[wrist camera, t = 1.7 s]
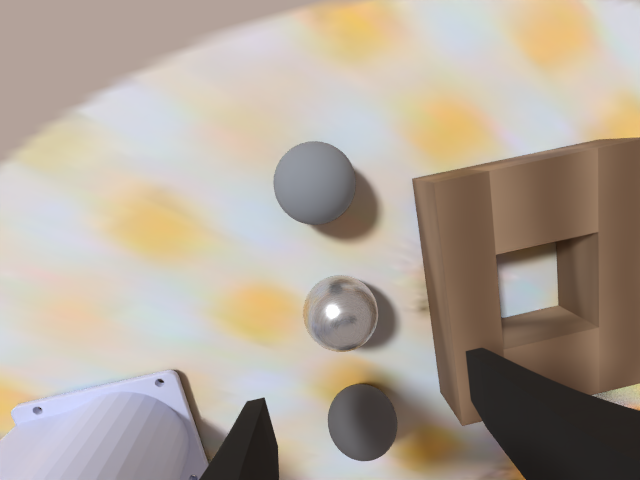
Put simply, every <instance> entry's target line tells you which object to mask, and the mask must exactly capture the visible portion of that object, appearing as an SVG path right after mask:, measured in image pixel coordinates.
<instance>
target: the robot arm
mask: <svg viewBox="0 0 640 480" xmlns="http://www.w3.org/2000/svg"><path fill="white" fill-rule="evenodd" d="M465 352H466V361H467V370H468V379H469V388H470V398H471V402H472V403H473V405H474V407H475V409H476V410H477V412H478V414H479V416H480V417H481V419H482V421H483V422H484V424H485V426H486V427H487V429H488V430H489V431H490V433H491V434H492V435H493V437H494V438H495V439H496V441H497V442H498V443H499V445H500V446H501V447H502V449H503V450H504V451H505V453H506V454H507V455H508V457H509V458H510V459H511V461H512V462H513V463H514V464H515V466H516V467H517V468H518V470H519V471H520V472H521V474H522V475H523V476H524V478H525V479H526V480H640V411H639V410H635V409H631V408H628V407H624V406H621V405H618V404H615V403H612V402H609V401H606V400H603V399H600V398H597V397H594V396H591V395H588V394H585V393H583V392H580V391H577V390H575V389H572V388H570V387H568V386H565V385H563V384H560V383H558V382H555V381H553V380H551V379H549V378H546V377H544V376H542V375H540V374H537V373H535V372H533V371H531V370H529V369H527V368H524V367H522V366H520V365H518V364H516V363H514V362H512V361H510V360H508V359H506V358H504V357H502V356H500V355H498V354H496V353H494V352H491V351H489V350H487V349H485V348H477V349H473V350H469V351H465ZM157 379H162V380H163V381H164V383H160V382H159V381H158V380H157ZM38 407H40V408H41V409H42V410H41V409H39V408H38ZM11 416H12V418H13V420H14V422H15V424H16V425H15V426H14V427H13V428H12V429H11V430H10V431H9V432H8V433H7V434H6V435H5V436H4V437H3V438H2V439H1V440H0V480H279V464H278V445H277V441H276V438H275V434H274V430H273V427H272V423H271V419H270V416H269V412H268V409H267V405H266V401H265V398H260V399H256V400H252V401H247V403H246V404H245V406H244V407H243V409H242V411H241V413H240V414H239V416H238V418H237V420H236V422H235V423H234V425H233V427H232V429H231V430H230V432H229V434H228V435H227V437H226V439H225V440H224V442H223V444H222V445H221V447H220V449H219V450H218V452H217V454H216V455H215V457H214V458H213V460H212V461H211V463H210V464H208V461H207V458H206V455H205V452H204V449H203V447H202V444H201V441H200V438H199V435H198V432H197V429H196V426H195V423H194V420H193V417H192V414H191V411H190V408H189V405H188V402H187V399H186V396H185V393H184V390H183V387H182V384H181V381H180V378H179V375H178V374H177V372H175V371H173V370H166V371H161V372H157V373H152V374H148V375H144V376H139V377H135V378H130V379H126V380H121V381H117V382H113V383H108V384H104V385H99V386H95V387H90V388H86V389H82V390H77V391H73V392H68V393H64V394H59V395H55V396H51V397H46V398H42V399H37V400H33V401H28V402H24V403H20V404H18V405H17V406H16V407H14V408H13V409H12V411H11ZM192 475H196V476H192Z"/></svg>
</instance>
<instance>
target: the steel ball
mask: <svg viewBox="0 0 640 480" xmlns="http://www.w3.org/2000/svg"><path fill="white" fill-rule="evenodd" d="M303 317H304V323H305V326H306V329H307V331H308V333H309V334H310V336H311V337H312V338H313V339H314V341H316V342H317V343H318V344H319V345H321V346H322V347H324V348H326V349H329V350H332V351H336V352H346V351H351V350H354V349H356V348H358V347H360V346H362V345H363V344H365V343H366V342H367V341H368V340H369V338H370V337H371V336H372V334H373V333H374V331H375V329H376V326H377V321H378V306H377V302H376V300H375V297H374V295H373V294H372V292H371V291H370V289H369V288H368V287H367V286H366V285H365V284H364V283H362V282H361V281H359V280H357V279H355V278H353V277H349V276H342V275H339V276H332V277H328V278H326V279H324V280H322V281H320V282H319V283H317V284H316V285H315V286H314V287H313V288H312V289H311V291H310V292H309V294H308V296H307V298H306V300H305V304H304V309H303Z"/></svg>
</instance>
